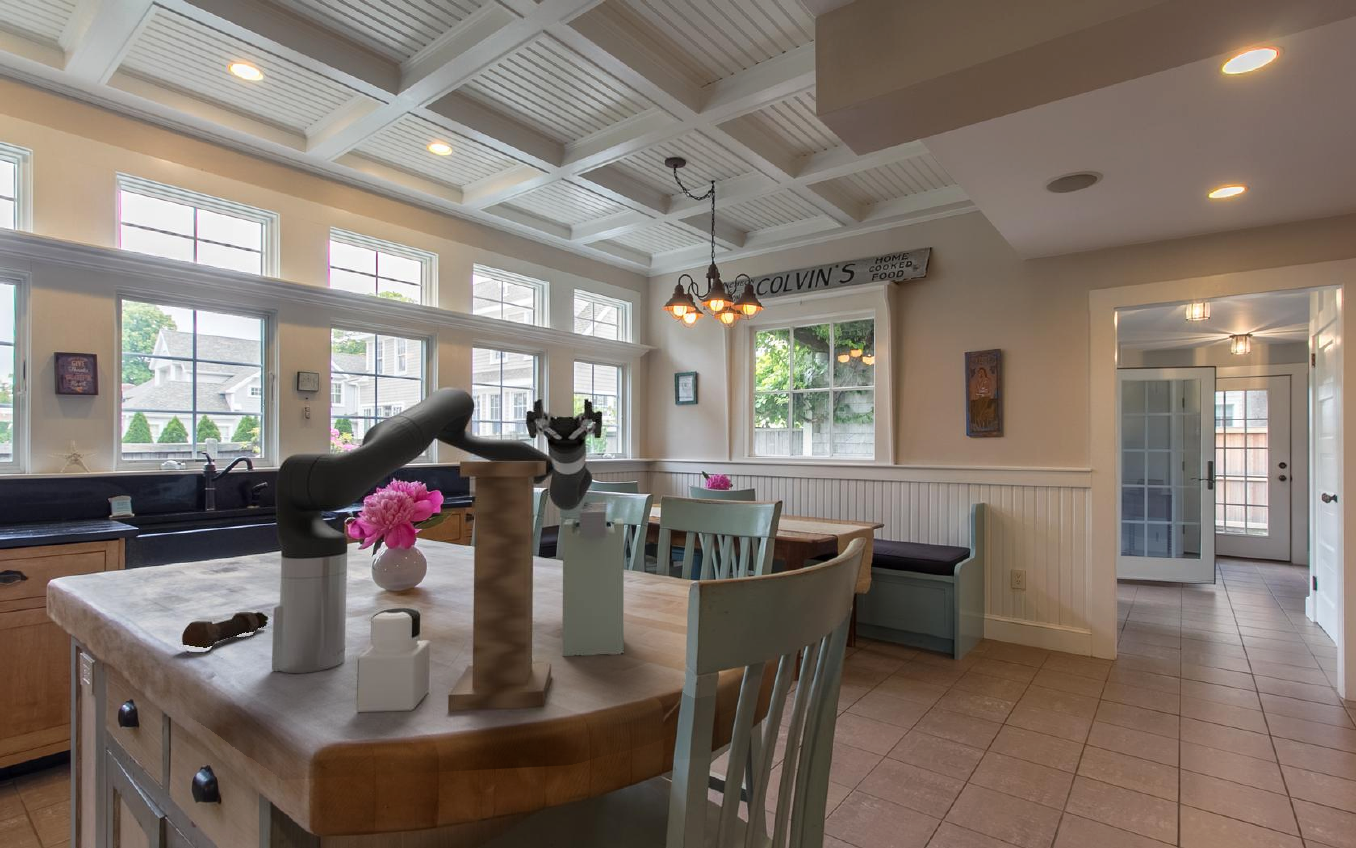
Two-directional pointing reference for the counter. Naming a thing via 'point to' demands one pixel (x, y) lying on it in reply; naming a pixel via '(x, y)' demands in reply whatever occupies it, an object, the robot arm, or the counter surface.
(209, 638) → the bolt
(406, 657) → the medicine bottle
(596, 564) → the grey tall block
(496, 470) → the tall column
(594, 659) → the counter surface
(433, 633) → the counter surface
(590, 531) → the brushed steel bar
